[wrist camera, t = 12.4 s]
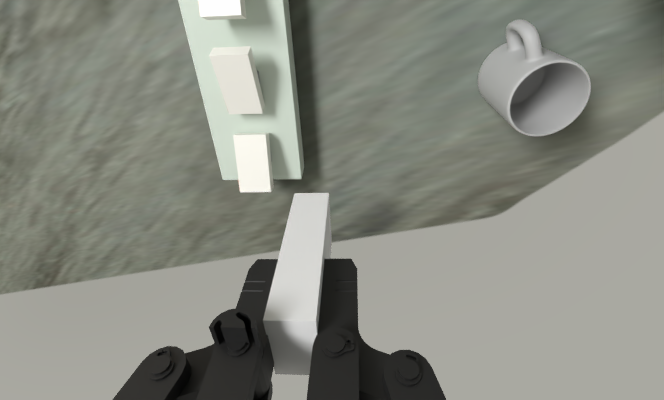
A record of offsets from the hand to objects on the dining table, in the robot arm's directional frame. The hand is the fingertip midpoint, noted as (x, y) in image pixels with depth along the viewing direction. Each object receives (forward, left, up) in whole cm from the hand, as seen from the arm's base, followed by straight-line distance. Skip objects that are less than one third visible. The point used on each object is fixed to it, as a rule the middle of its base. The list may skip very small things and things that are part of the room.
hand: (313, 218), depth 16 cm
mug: (+2, +22, -37) cm, 43 cm away
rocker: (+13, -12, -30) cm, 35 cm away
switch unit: (+2, -12, -36) cm, 38 cm away
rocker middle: (+2, -12, -30) cm, 33 cm away
